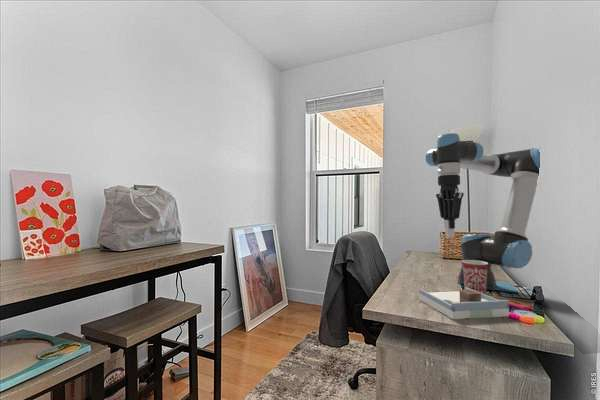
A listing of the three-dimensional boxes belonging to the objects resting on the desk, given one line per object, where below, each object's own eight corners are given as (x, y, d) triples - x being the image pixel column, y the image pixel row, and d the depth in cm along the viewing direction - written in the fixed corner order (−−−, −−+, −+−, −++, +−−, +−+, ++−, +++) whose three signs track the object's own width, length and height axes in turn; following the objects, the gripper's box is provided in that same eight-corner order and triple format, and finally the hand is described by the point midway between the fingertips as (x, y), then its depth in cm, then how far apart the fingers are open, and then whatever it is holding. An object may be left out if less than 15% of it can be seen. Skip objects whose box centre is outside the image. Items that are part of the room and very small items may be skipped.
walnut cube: (471, 302, 102) (471, 289, 102) (481, 307, 97) (481, 293, 97) (459, 303, 101) (459, 290, 101) (468, 307, 97) (468, 294, 97)
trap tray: (466, 297, 116) (466, 284, 116) (509, 316, 96) (508, 300, 96) (419, 299, 113) (419, 286, 113) (452, 319, 93) (452, 303, 93)
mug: (491, 300, 112) (490, 264, 112) (464, 297, 115) (463, 263, 116) (484, 291, 123) (484, 259, 124) (460, 289, 127) (460, 257, 127)
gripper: (429, 176, 117) (430, 235, 117) (451, 173, 104) (452, 239, 104) (446, 176, 118) (447, 235, 118) (470, 173, 105) (471, 238, 105)
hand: (450, 237), depth 111 cm, fingers closed
